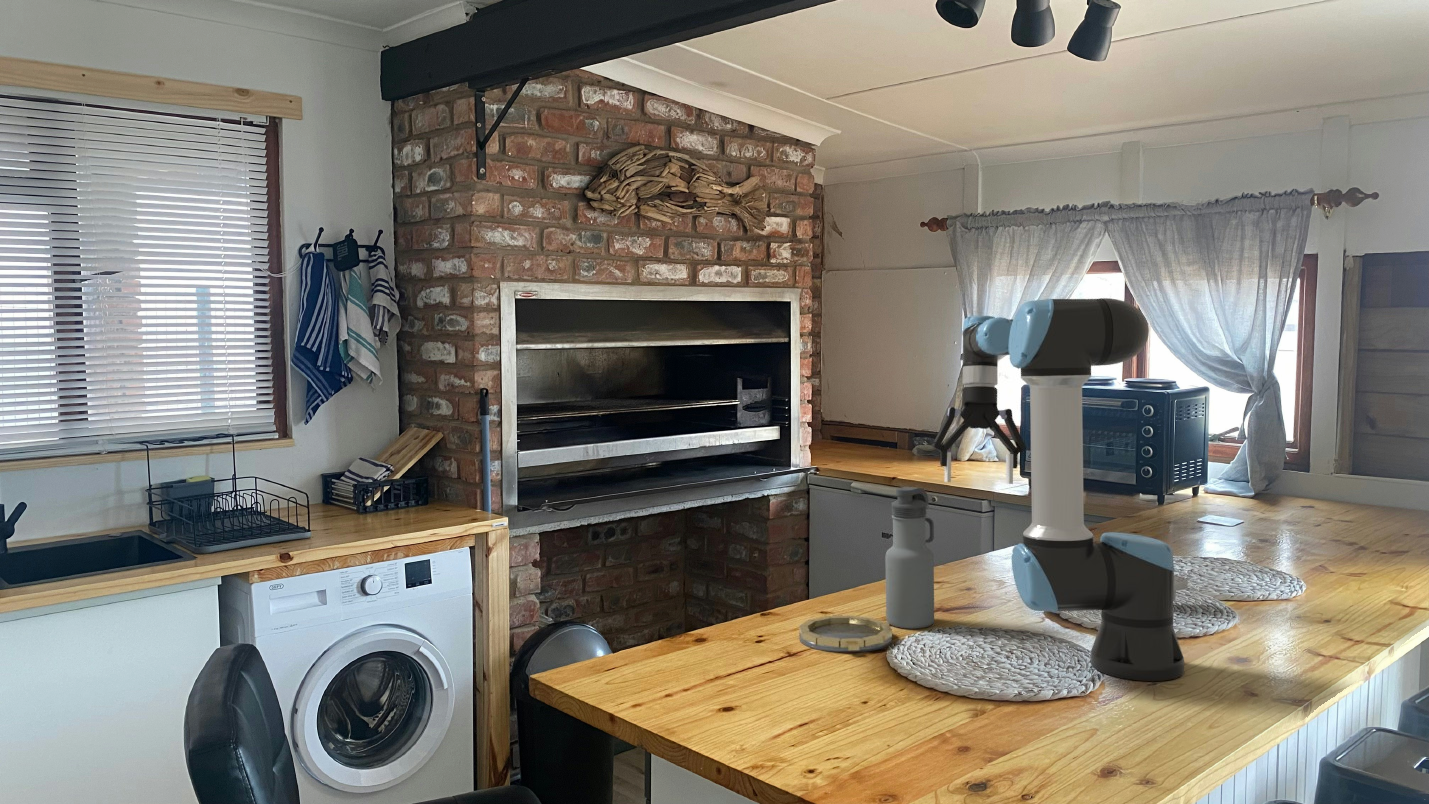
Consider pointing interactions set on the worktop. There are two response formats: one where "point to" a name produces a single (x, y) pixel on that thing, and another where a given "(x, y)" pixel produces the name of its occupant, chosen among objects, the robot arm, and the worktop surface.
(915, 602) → the water bottle
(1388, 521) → the worktop surface
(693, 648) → the worktop surface
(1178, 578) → the showerhead
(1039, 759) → the worktop surface
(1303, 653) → the worktop surface
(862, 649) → the collar
